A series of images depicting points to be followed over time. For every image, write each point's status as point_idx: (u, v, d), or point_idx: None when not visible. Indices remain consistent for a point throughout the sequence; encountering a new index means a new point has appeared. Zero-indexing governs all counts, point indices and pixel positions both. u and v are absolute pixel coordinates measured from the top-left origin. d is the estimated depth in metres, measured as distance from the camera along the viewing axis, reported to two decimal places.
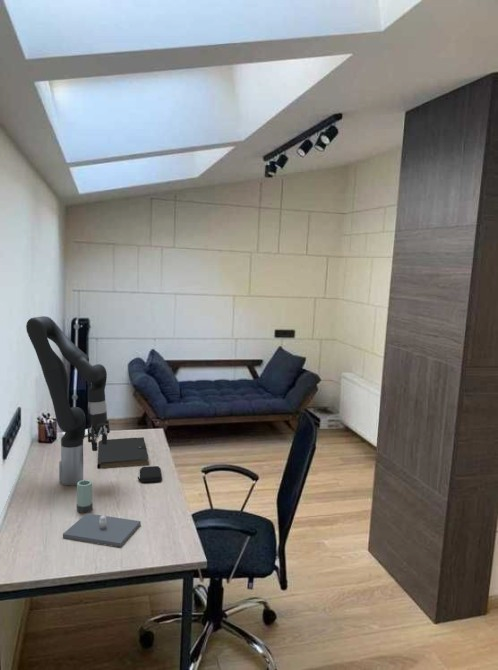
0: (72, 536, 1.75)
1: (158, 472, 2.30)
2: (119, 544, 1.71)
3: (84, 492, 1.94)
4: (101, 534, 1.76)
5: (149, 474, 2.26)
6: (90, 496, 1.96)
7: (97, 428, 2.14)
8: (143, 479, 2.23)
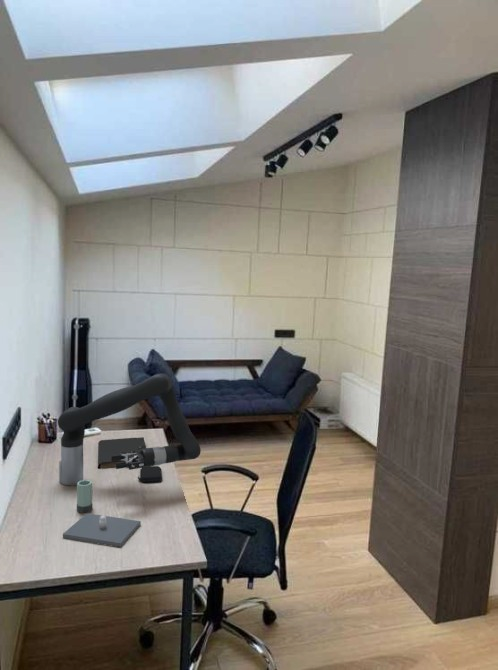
0: (72, 536, 1.75)
1: (158, 472, 2.30)
2: (119, 544, 1.71)
3: (84, 492, 1.94)
4: (101, 534, 1.76)
5: (149, 474, 2.27)
6: (90, 496, 1.96)
7: None
8: (143, 479, 2.23)
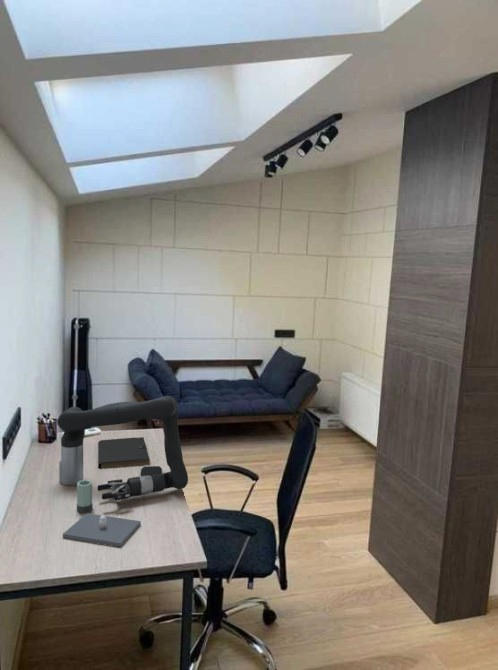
0: (72, 536, 1.75)
1: (159, 472, 2.30)
2: (119, 544, 1.71)
3: (84, 492, 1.94)
4: (101, 534, 1.76)
5: (149, 474, 2.27)
6: (90, 496, 1.96)
7: None
8: None
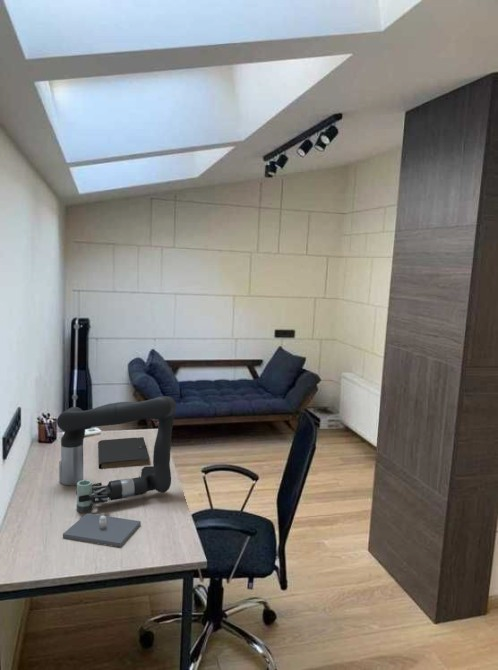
0: (72, 536, 1.75)
1: None
2: (119, 544, 1.71)
3: (84, 492, 1.94)
4: (101, 534, 1.76)
5: None
6: None
7: None
8: None
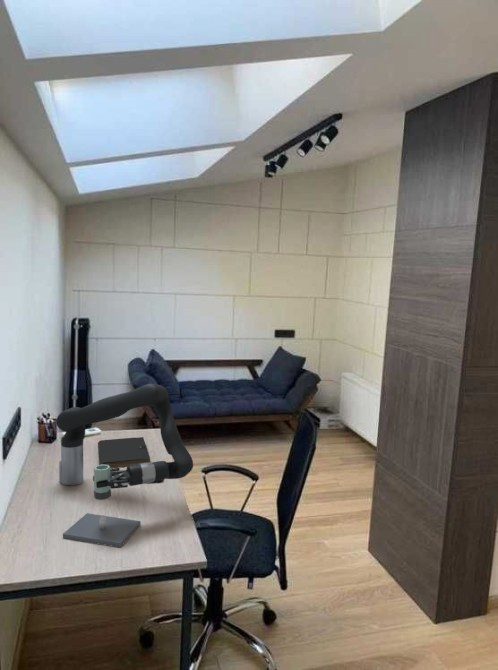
0: (72, 536, 1.75)
1: None
2: (119, 544, 1.71)
3: (102, 477, 1.79)
4: (101, 534, 1.76)
5: None
6: None
7: None
8: None
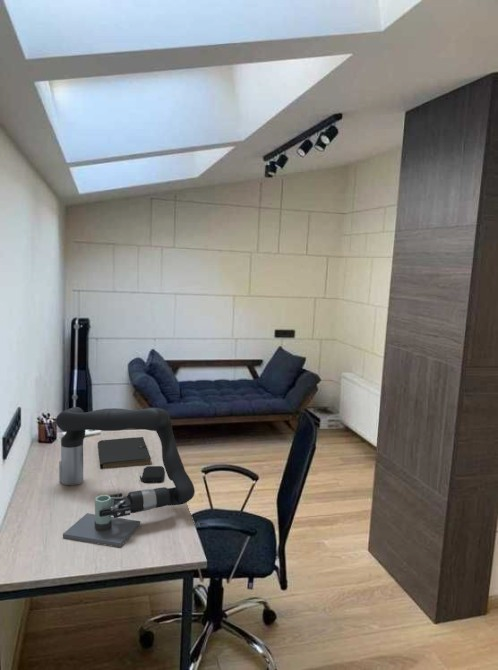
0: (72, 536, 1.75)
1: (161, 472, 2.30)
2: (119, 544, 1.71)
3: (103, 508, 1.78)
4: (101, 534, 1.76)
5: (151, 474, 2.27)
6: None
7: None
8: (144, 478, 2.24)
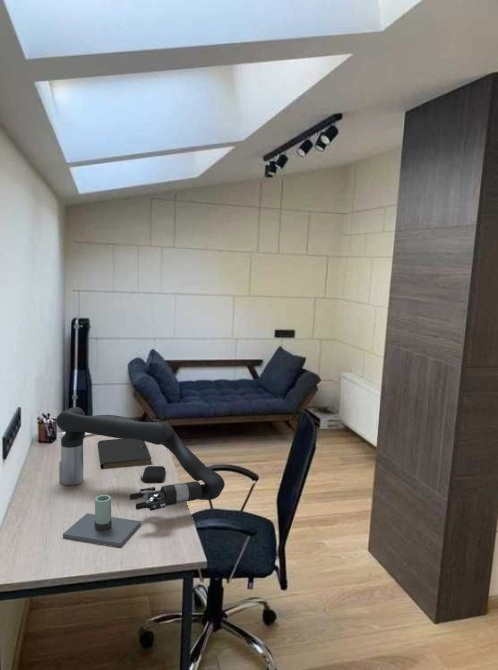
0: (72, 536, 1.75)
1: (161, 472, 2.30)
2: (119, 544, 1.71)
3: (103, 508, 1.78)
4: (101, 534, 1.76)
5: (151, 474, 2.27)
6: (109, 513, 1.80)
7: None
8: (145, 478, 2.24)
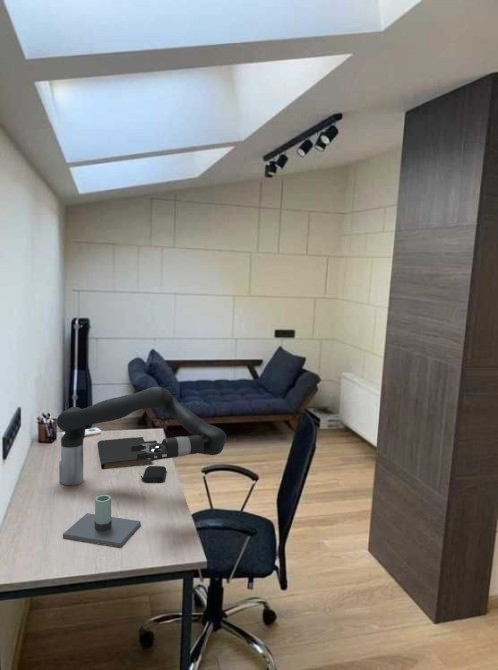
0: (72, 536, 1.75)
1: (162, 472, 2.30)
2: (119, 544, 1.71)
3: (103, 508, 1.78)
4: (101, 534, 1.76)
5: (152, 474, 2.27)
6: (109, 513, 1.80)
7: None
8: (145, 478, 2.24)
